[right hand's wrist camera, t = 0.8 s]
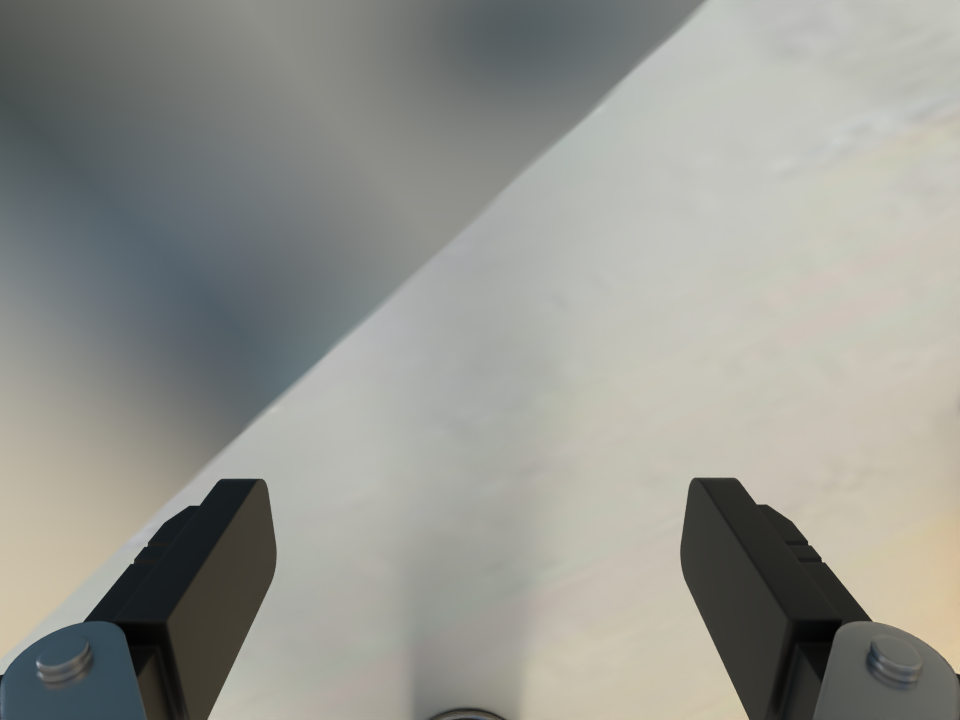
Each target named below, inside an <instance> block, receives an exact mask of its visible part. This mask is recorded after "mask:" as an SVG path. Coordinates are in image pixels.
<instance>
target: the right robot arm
mask: <svg viewBox="0 0 960 720" xmlns="http://www.w3.org/2000/svg"><path fill="white" fill-rule="evenodd" d="M276 556H277V551H276V541H275V535H274V528H273V521H272V514H271V507H270V500H269V493H268V488H267V484H266V482H265V481H264V480H263V479H221V480H219V481H218V482H217V483H216V485H215V486H214V487H213V489H212V490H211V491H210V493H209V494H208V495H207V497H206V498H205V499H204V501H203V502H202V503H201V504H200V506H188V507H187V508H186V509H184V510H183V511H181V512H180V513H178V514H177V515H175V516H174V517H172V518H171V519H169V520H168V521H166V522H165V523H164V524H163V525H162V526H161V527H160V529H159V530H158V531H157V532H156V534H155V535H154V536H153V537H152V538H151V540H150V541H149V542H148V546H147V547H144V548H143V550H142V551H141V552H140V553H139V554H138V556H137V557H136V558H135V559H134V564H130V565H129V567H128V568H127V569H126V570H125V572H124V573H123V574H122V575H121V576H120V578H119V579H118V580H117V581H116V583H115V584H114V585H113V586H112V587H111V589H110V590H109V591H108V592H107V594H106V595H105V596H104V597H103V598H102V600H101V601H100V602H99V603H98V605H97V606H96V607H95V608H94V609H93V611H92V612H91V613H90V614H89V616H88V617H87V618H86V619H85V621H84V622H83V623H78V624H74V625H71V626H68V627H65V628H62V629H60V630H57V631H55V632H53V633H51V634H49V635H47V636H45V637H43V638H41V639H40V640H38V641H37V642H35V643H34V644H32V645H31V646H29V647H28V648H27V649H26V650H24V651H23V652H22V653H21V654H20V655H19V656H18V657H17V658H16V659H15V660H14V661H13V662H12V663H11V664H10V666H9V667H8V669H7V670H6V672H5V673H4V674H3V675H0V720H207V719H208V717H209V715H210V713H211V711H212V708H213V706H214V704H215V702H216V700H217V698H218V696H219V693H220V691H221V689H222V687H223V685H224V683H225V681H226V679H227V676H228V674H229V672H230V670H231V668H232V666H233V664H234V661H235V659H236V657H237V655H238V653H239V651H240V649H241V646H242V644H243V642H244V640H245V638H246V636H247V634H248V631H249V629H250V627H251V625H252V623H253V621H254V619H255V616H256V614H257V612H258V610H259V608H260V606H261V604H262V602H263V599H264V597H265V595H266V593H267V591H268V589H269V587H270V584H271V582H272V579H273V576H274V572H275V567H276ZM680 557H681V566H682V571H683V575H684V578H685V581H686V583H687V586H688V588H689V590H690V592H691V594H692V596H693V599H694V601H695V603H696V605H697V607H698V609H699V612H700V614H701V616H702V618H703V620H704V622H705V625H706V627H707V629H708V631H709V633H710V635H711V638H712V640H713V642H714V644H715V646H716V648H717V651H718V653H719V655H720V657H721V659H722V661H723V664H724V666H725V668H726V670H727V672H728V674H729V677H730V679H731V681H732V683H733V685H734V687H735V689H736V692H737V694H738V696H739V698H740V700H741V702H742V705H743V707H744V709H745V711H746V713H747V715H748V718H749V720H960V674H956V673H955V672H954V670H953V669H952V667H951V666H950V664H949V663H948V662H947V661H946V660H945V659H944V658H943V657H942V656H941V655H940V654H939V653H938V652H937V651H936V650H934V649H933V648H932V647H931V646H929V645H928V644H926V643H925V642H923V641H922V640H920V639H919V638H917V637H915V636H913V635H911V634H909V633H907V632H905V631H903V630H900V629H898V628H895V627H892V626H889V625H886V624H882V623H877V622H873V621H872V620H871V619H870V617H869V616H868V615H867V614H866V613H865V611H864V610H863V609H862V608H861V606H860V605H859V604H858V603H857V601H856V600H855V599H854V598H853V596H852V595H851V594H850V593H849V592H848V590H847V589H846V588H845V587H844V585H843V584H842V583H841V582H840V580H839V579H838V578H837V577H836V575H835V574H834V573H833V572H832V571H831V569H830V568H829V567H828V566H827V564H826V563H822V560H821V557H820V556H819V554H818V553H817V552H816V551H815V550H814V548H813V547H812V546H809V545H808V541H807V540H806V538H805V537H804V536H803V535H802V534H801V532H800V531H799V530H798V529H797V527H796V526H795V525H794V524H793V522H792V521H790V520H789V519H787V518H786V517H784V516H783V515H781V514H780V513H778V512H777V511H775V510H774V509H773V508H771V507H770V506H768V505H757V504H756V503H755V502H754V500H753V499H752V498H751V496H750V495H749V494H748V492H747V491H746V490H745V488H744V487H743V486H742V484H741V483H740V482H739V481H738V480H737V479H736V478H694V479H692V481H691V483H690V486H689V490H688V497H687V505H686V512H685V519H684V526H683V533H682V540H681V549H680ZM432 720H502V719H500V718H498V717H496V716H494V715H491V714H488V713H485V712H480V711H472V710H462V711H453V712H449V713H445V714H442V715H440V716H437V717H435V718H433V719H432Z"/></svg>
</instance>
